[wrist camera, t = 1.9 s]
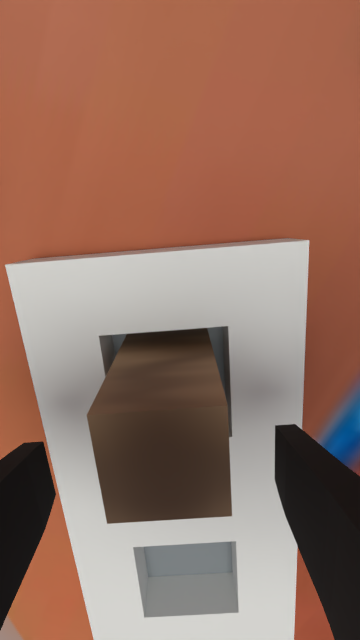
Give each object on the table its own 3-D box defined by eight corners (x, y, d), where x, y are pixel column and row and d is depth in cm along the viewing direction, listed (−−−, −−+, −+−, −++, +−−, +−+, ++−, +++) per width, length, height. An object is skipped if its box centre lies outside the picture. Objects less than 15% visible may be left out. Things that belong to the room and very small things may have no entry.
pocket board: (287, 238, 15) (309, 240, 12) (280, 599, 21) (293, 646, 19) (33, 258, 15) (4, 264, 12) (106, 609, 22) (97, 656, 19)
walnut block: (207, 328, 15) (227, 405, 9) (211, 399, 17) (232, 516, 10) (127, 334, 16) (86, 415, 9) (136, 404, 17) (106, 523, 10)
